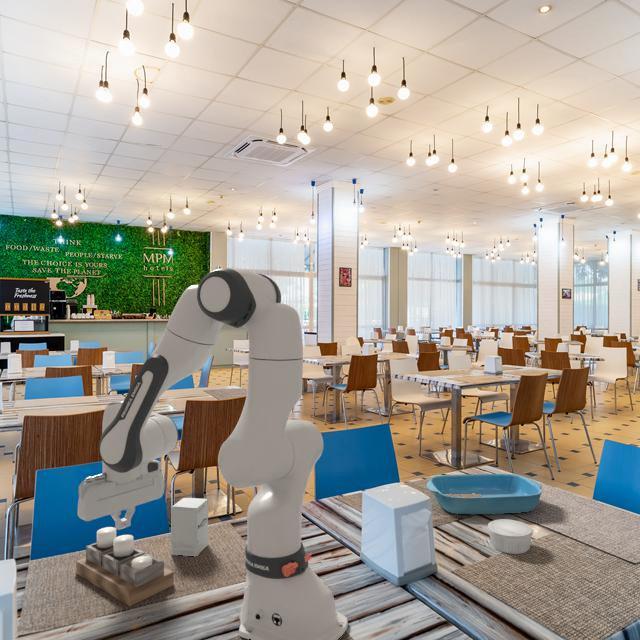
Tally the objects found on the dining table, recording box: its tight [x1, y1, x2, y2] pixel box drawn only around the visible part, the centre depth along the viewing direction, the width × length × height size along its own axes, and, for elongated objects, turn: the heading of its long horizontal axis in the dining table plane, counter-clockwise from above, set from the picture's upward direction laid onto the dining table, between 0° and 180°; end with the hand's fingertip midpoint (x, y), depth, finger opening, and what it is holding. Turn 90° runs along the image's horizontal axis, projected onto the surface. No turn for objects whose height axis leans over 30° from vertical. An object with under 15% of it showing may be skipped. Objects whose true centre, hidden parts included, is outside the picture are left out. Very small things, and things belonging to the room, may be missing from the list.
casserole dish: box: [426, 473, 543, 515], centre depth 166 cm, size 37×22×7 cm, turn 92°
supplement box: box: [170, 497, 209, 558], centre depth 135 cm, size 7×7×13 cm
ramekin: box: [487, 518, 534, 555], centre depth 136 cm, size 11×11×5 cm
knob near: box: [132, 556, 152, 571], centre depth 115 cm, size 4×4×3 cm
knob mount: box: [75, 541, 175, 607], centre depth 120 cm, size 23×11×6 cm, turn 52°
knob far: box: [96, 526, 117, 548], centre depth 124 cm, size 4×4×3 cm
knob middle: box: [113, 534, 135, 557], centre depth 120 cm, size 4×4×3 cm
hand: (123, 527), depth 120 cm, fingers closed
